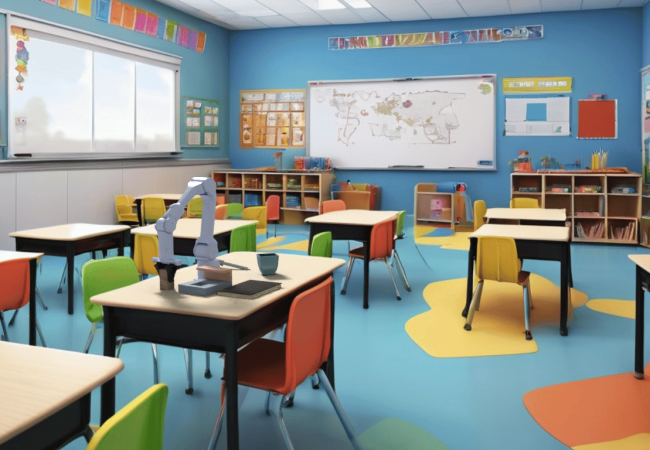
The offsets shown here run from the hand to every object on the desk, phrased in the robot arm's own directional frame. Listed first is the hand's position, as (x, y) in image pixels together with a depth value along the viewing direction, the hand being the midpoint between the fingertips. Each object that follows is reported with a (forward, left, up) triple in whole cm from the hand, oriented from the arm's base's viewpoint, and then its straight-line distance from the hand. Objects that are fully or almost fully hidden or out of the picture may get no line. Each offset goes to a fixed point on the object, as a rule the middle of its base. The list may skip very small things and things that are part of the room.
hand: (167, 281), depth 241 cm
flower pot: (-45, +17, -3) cm, 48 cm away
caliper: (-46, -6, -3) cm, 47 cm away
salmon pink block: (-11, +15, 0) cm, 19 cm away
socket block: (-6, +15, -3) cm, 16 cm away
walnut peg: (0, 0, -3) cm, 3 cm away
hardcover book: (-14, +31, -4) cm, 34 cm away
